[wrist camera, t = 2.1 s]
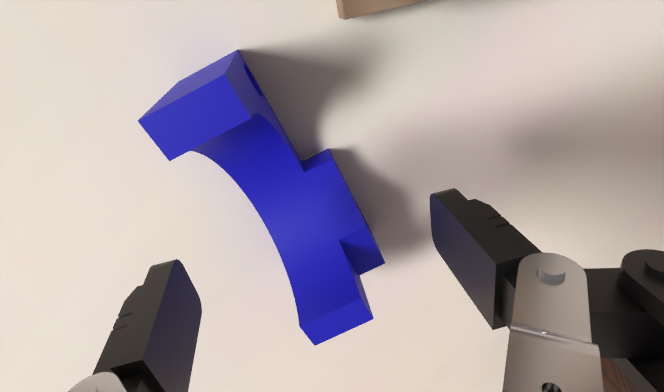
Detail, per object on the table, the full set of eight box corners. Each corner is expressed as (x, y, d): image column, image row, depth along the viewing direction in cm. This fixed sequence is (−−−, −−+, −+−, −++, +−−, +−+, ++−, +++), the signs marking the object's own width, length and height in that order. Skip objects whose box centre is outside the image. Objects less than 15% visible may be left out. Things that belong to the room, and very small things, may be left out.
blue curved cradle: (371, 231, 22) (403, 305, 17) (303, 263, 22) (314, 345, 17) (268, 32, 16) (269, 50, 11) (179, 80, 16) (137, 121, 11)
